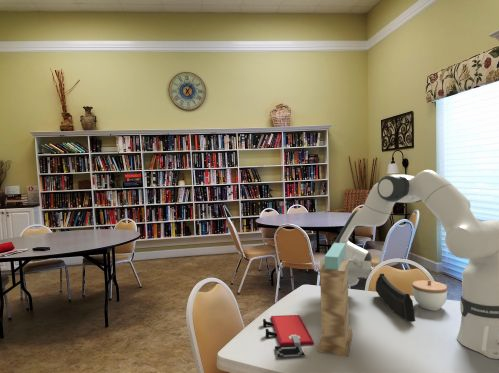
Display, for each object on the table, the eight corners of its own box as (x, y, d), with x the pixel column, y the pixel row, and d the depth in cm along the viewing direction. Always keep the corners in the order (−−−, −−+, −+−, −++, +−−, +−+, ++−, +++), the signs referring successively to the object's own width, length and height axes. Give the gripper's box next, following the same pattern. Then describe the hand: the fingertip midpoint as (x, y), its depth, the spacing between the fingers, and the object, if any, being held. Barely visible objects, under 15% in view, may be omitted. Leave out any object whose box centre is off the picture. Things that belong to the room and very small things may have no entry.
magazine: (418, 302, 118) (385, 258, 146) (409, 303, 118) (378, 259, 146) (412, 341, 123) (381, 291, 152) (403, 341, 123) (374, 292, 152)
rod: (345, 254, 122) (345, 243, 122) (338, 270, 102) (337, 257, 102) (334, 253, 124) (334, 242, 124) (324, 269, 103) (324, 256, 103)
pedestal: (352, 334, 115) (350, 259, 114) (348, 356, 101) (346, 271, 100) (326, 330, 118) (324, 258, 117) (318, 351, 104) (316, 269, 104)
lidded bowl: (406, 306, 138) (406, 279, 137) (421, 298, 145) (421, 273, 145) (438, 315, 127) (438, 287, 127) (453, 307, 135) (452, 280, 135)
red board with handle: (271, 360, 100) (320, 357, 101) (271, 351, 100) (320, 348, 101) (261, 319, 130) (299, 318, 131) (261, 312, 130) (299, 311, 131)
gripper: (322, 260, 148) (317, 251, 136) (371, 263, 140) (370, 253, 129) (321, 275, 145) (316, 266, 134) (371, 278, 137) (370, 270, 126)
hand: (343, 260), depth 131 cm, fingers open, 8 cm apart
